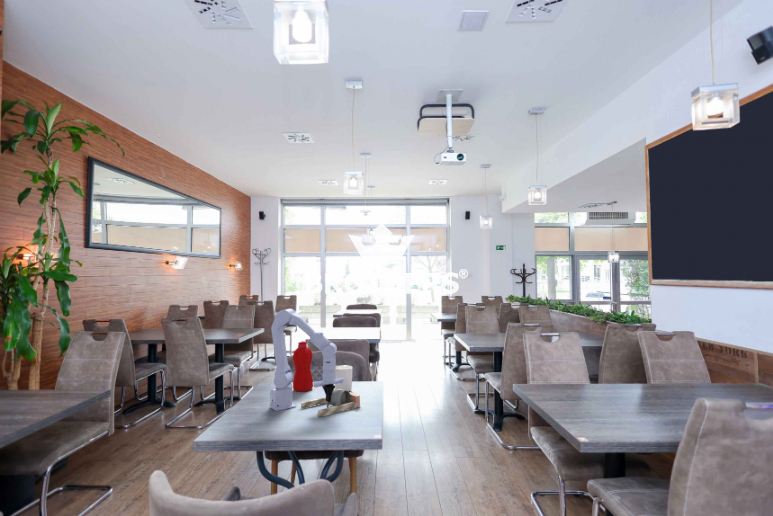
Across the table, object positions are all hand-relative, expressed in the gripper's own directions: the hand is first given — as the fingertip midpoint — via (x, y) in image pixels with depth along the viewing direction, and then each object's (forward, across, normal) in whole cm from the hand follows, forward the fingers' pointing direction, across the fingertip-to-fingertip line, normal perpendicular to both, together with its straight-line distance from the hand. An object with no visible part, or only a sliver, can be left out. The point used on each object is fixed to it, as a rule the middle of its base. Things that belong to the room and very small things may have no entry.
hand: (328, 401), depth 190 cm
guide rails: (+3, 0, 0) cm, 3 cm away
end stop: (+2, +10, 0) cm, 10 cm away
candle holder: (+3, +20, +20) cm, 28 cm away
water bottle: (+3, +5, +36) cm, 37 cm away
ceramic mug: (+3, +3, -2) cm, 5 cm away
